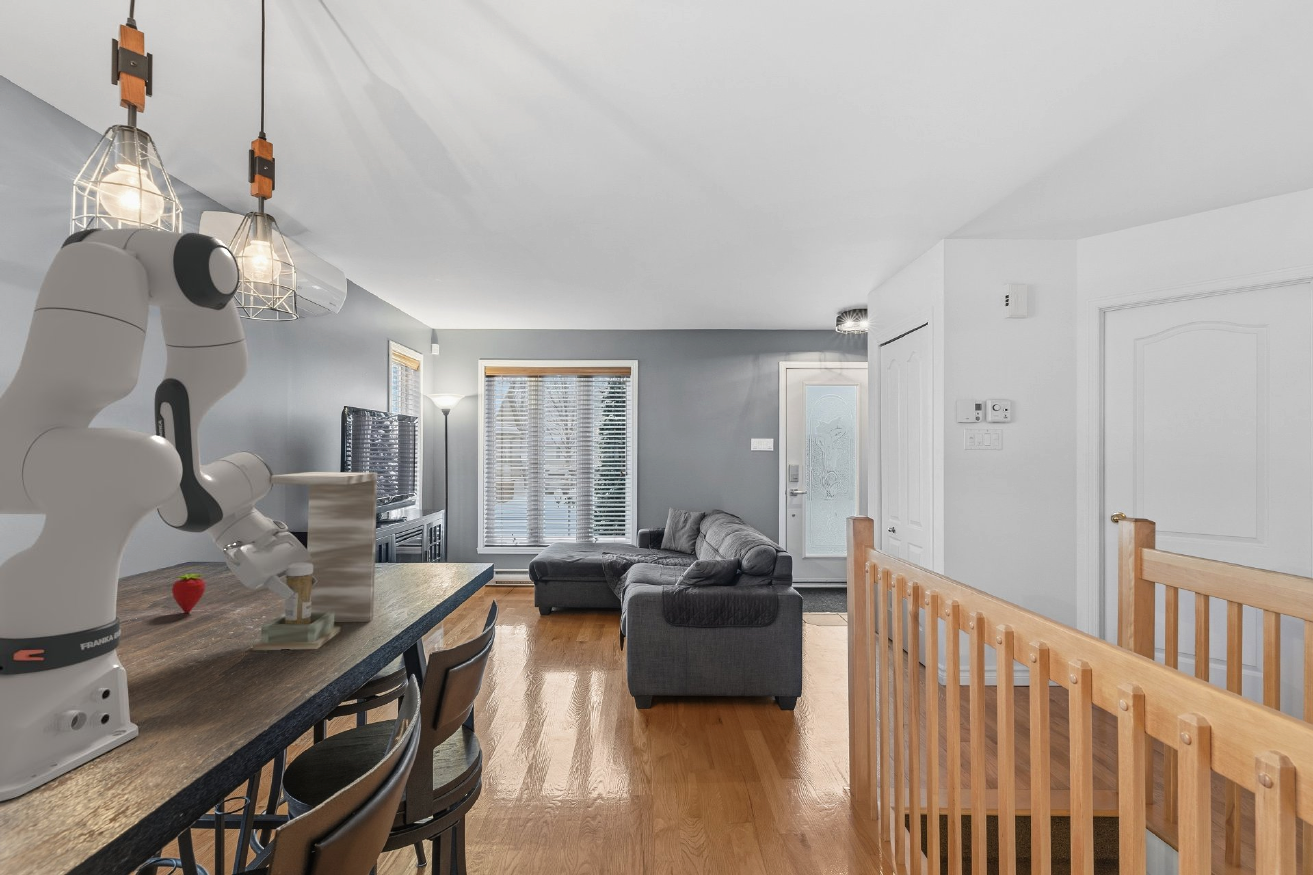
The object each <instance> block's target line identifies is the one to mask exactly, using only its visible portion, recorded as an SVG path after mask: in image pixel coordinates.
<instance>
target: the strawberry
mask: <svg viewBox="0 0 1313 875" xmlns="http://www.w3.org/2000/svg"><path fill="white" fill-rule="evenodd" d="M194 567H195V566H193V567H192V568H191V569H190V570H189V571H188V573H186V574H185V575H177V576H176V577H175V579H178V580H175V582H174V583H173V584H172V588H171V592H172V596H173V599H174V600H175V602H176V604H177V605H178V606H179V607H180V609H182V611H183V613H186V614H188V613H191V611H192V610H193V609H194V607H195V606H197V604H198V603H199V601H200V600H201V599H202V597H203V596H204V593H205V590H206V587H207V586H206V581H204V579H202V578H200V577H206V575H207V574H196V573H194V574H193V573H192V574H190V572H192V570H193V569H194Z"/></svg>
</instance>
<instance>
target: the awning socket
mask: <svg viewBox="0 0 1313 875" xmlns="http://www.w3.org/2000/svg"><path fill="white" fill-rule="evenodd" d="M271 484H273V485H308V489H309V490H308V512H307V513H308V515H307V516H308V517H307V548H306V549H307V550H308V551H309V553H310V555H311V560H310V561H309V562H308V563H312V564H313V573H312V575H313V576H314V577H315V578H316V579H317V583H315V584H314V585H313V586H312V588H311V592H312V598H311V624H285V621H286V620H285V613H283V614H281V615H279V616H277V617H276V618H274V619H272V620H270V621H269V622H267V623H265V624H264V625H262V626H261V629H260V630H261V632H260V633H261V634H260V640H259V641H257V642H255V643H254V644H253V645H252V651H280V650H281V649H290V650H318V649H319V648H321V647H322V646H323V645H325V644H326V643H327V642H328V641H330V640H331V639H332V638H333V637H335V636H336V635H338V634H339V633H340V632H341V626H338V625H337V626H336V625H335V623H346V622H347V623H350V622H351V623H354V622H355V623H359V622H360V623H361V622H366V623H367V622H371V621H373V619H374V604H375V600H374V599H375V574H376V573H375V571H376V570H375V569H376V567H375V566H376V564H375V563H376V533H377V530H376V529H377V528H376V527H377V501H378V500H377V498H378V497H377V496H378V495H377V494H378V472H356V471H355V472H353V471H352V472H351V471H350V472H349V471H347V472H346V471H345V472H344V471H343V472H337V471H334V472H333V471H310V472H309V471H308V472H298V473H297V472H296V473H288V474H287V473H285V474H276V475H275V474H273V476H271Z"/></svg>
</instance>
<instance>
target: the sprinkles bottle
mask: <svg viewBox="0 0 1313 875" xmlns="http://www.w3.org/2000/svg"><path fill="white" fill-rule="evenodd" d="M312 573H313V564H312V563H294V564H291V565H289V566H288V568H287V570H286V576H285V578H286V583H285V584H286V585H288V586H289V585H291V586H292V587H293V589H295V590H296V593H295V594H294V595H293V596H292V597H290V598H289V599H284V601H285V602H284V603H285V608H284V610H285V612H284V614H285V620H286V621H285V624H311V598H312V592H311V588H312V587H311V586H312Z"/></svg>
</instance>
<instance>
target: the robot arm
mask: <svg viewBox="0 0 1313 875" xmlns="http://www.w3.org/2000/svg"><path fill="white" fill-rule="evenodd" d="M48 267H49V268H48V270H47V272H46V274H45V276H44V278H43V281H42V284H41V286H40V289H39V292H38V295H37V299H36V301H35V306H34V309H33V314H32V319H31V323H30V326H29V332H28V334H27V335H28V336H27V340H26V342H25V347H24V350H23V354H22V357H21V360H20V364H19V367H18V369H17V371H16V372H15V375H14V377H13V379H12V381H11V382H10V384H9V385H8V387H7V388H6V390H5V391H4V392H3V394H1V396H0V515H2V514H3V515H45V520H44V524H43V527H42V529H41V532H40V535H39V536H38V537H37V539H36V541H35V542H34V543H33V544H31V546H30V547H28V548H25V549H23V550H21V551H20V552H17V553H15V554H14V555H12V556H10V557H8V559H5V561H4V562H3V563H1V565H0V802H4V801H6V800H10V799H13V798H17V797H19V796H22V795H23V794H26V793H28V792H30V791H32V790H34V789H36V788H38V787H40V786H42V785H45V783H48V782H51V781H52V780H53V779H55V778H57V777H59V776H62V775H64V774H65V773H67V772H69V771H71V770H74V769H75V768H77V767H79V766H81V765H83V764H85V763H87V762H89V761H91V760H93V759H94V758H97V757H98V756H101V755H102V754H105V753H107V752H108V751H111V750H112V749H114V748H116V747H118V746H120V745H122V744H124V743H126V742H129V740H132V739H134V738H136V737H138V736H139V726H138V725H137V724H135V723H133V722H131V716H130V705H129V704H130V703H129V690H128V688H129V687H128V680H127V679H128V678H127V671H126V669H125V667H124V666H123V665H122V663H121V662H120V660H119V658H118V657H119V656H118V654H117V648H118V647H119V646H120V644H121V643H120V642H121V641H120V636H121V634H122V628H121V622H120V621H121V620H120V617H118V616H117V614H116V613H117V601H118V600H117V597H118V589H119V588H118V586H119V585H118V584H119V577H120V569H121V568H120V567H121V562H122V559H123V555H124V552H125V549H126V547H127V545H128V543H129V541H130V540H131V538H132V536H133V535H134V532H136V530H137V529H138V528H139V526H140V525H141V524H142V522H144V520H145V519H146V518H147V517H148V516H149V515H152V513H153V512H155V511H157V513H158V515H159V517H160V518H161V519H162V521H163V522H164V523H165V524H166V525H168V526H169V527H172V528H173V529H176V530H178V531H183V532H187V533H204V532H206V533H207V534H208V535H209V536H210V537H211V539H212V541H213V543H214V545H216V546H217V547H218V548H219V549H220V550H221V551H222V552H223V553H222V555H223V556H224V557H225V558H226V559H225V563H226V565H227V567H228V568H229V569H230V570H231V572H232V573H233V574H234V576H235V577H236V578H237V579H238V581H239V580H240V582H241V583H242V585H244V586H245V587H246V588H248V589H251V590H257V589H258V588H261V587H264V586H265V587H266V588H267V589H268V590H270V591H272V592H274V593H276V594H279V595H280V596H281V597H282V598H283V599H284V600H286V599H289V598H290V597H292V596H293V595H294V594H295V593H296V590H295V589H293V587H292V586H291V585H289V586H288V585H286V583H284V582H283V581H282V580H281V579H282V578H283V577H286V570H287V568H288V566H289V565H291V564H294V563H308V562H309V561H310V560H311V555H310V553H309V551H308V550H307V548H306V547H305V545H303V543H302V542H300V540H298V538H297V537H296V536H295V535H293V533H291V532H289V531H288V530H289V527H288V526H287V525H286V524H285V523H284V522H283V521H280V520H274V519H272V518H270V517H267V516H264V515H263V514H262V513H261V512H260V511H259V510H257V509H256V508H255V505H256V503H257V502H258V501H260V500H262V499H263V498H264V497H265V496H267V495H268V494H269V493H270V492H271V491H272V489H273V486H274V484H271V476H273V475H274V473H273V471H272V469H271V467H270V465H269V464H268V463H267V462H266V461H265V460H264V459H263V458H262V457H261V456H259V455H258V454H256V453H254V452H250V451H240V452H235V453H233V454H230V455H226V456H225V457H222V458H220V459H219V458H218V459H217V460H215V461H213V462H210V463H209V464H208V463H207V464H201V452H200V449H201V448H200V434H199V431H200V425H201V423H202V421H203V419H204V417H205V416H206V414H207V413H208V411H209V410H210V409H211V408H212V407H213V406H214V405H215V404H216V403H218V402H219V401H220V400H221V399H222V398H224V396H226V395H228V394H229V393H230V392H231V391H233V390H234V389H236V388H237V387H238V385H240V383H241V382H242V381H243V380H244V378H245V377H246V375H247V373H248V369H249V351H248V346H247V341H246V337H245V331H244V327H243V324H242V321H241V317H240V314H239V310H238V308H237V305H236V303H235V299H234V296H235V294H236V292H237V290H238V287H239V283H240V270H239V265H238V262H237V259H236V258H235V255H234V253H233V252H232V251H231V250H230V248H228V246H226V245H225V243H224V242H222V240H220V239H218V238H216V237H213V236H210V235H206V234H202V233H197V232H188V233H182V232H176V231H175V232H174V231H169V230H168V231H167V230H159V229H158V230H157V229H151V228H146V227H145V228H143V227H142V228H138V227H137V228H135V227H133V228H132V227H131V228H129V227H128V228H110V229H106V228H100V227H99V228H98V227H97V228H89V229H83V230H78V231H77V232H74V233H71V234H70V235H69V236H68V237H67V238H65V241H64V242H63V244H62V245H61V247H60V250H59V251H58V252H57V254H56V255H55V257H54V259H53V260H52V262H51V264H50V266H48ZM149 306H153V307H159V312H160V313H159V314H160V322H161V323H160V324H161V329H162V330H161V331H162V336H163V339H164V344H165V348H166V366H165V372H164V376H163V378H162V380H161V382H160V384H159V385H158V386H157V388H156V390H155V393H154V402H153V405H154V408H153V409H154V424H155V426H154V428H155V434H153V433H148V432H142V431H138V430H133V429H127V428H121V427H89V426H90V424H91V423H92V421H93V420H94V419H95V418H96V416H98V414H99V413H101V411H103V410H104V409H105V408H106V407H108V406H110V405H111V404H113V403H115V402H118V401H120V400H122V399H125V397H127V396H129V395H130V394H131V393H132V392H133V391H134V389H135V388H136V386H137V384H138V380H139V375H140V370H141V369H140V368H141V363H142V359H143V353H144V346H145V341H146V335H147V329H148V323H149V322H148V321H149V313H150V312H149ZM315 583H317V579H316V578H315V577H314V576H313V575H312V586H313V585H314V584H315ZM312 586H311V587H312Z"/></svg>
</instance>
